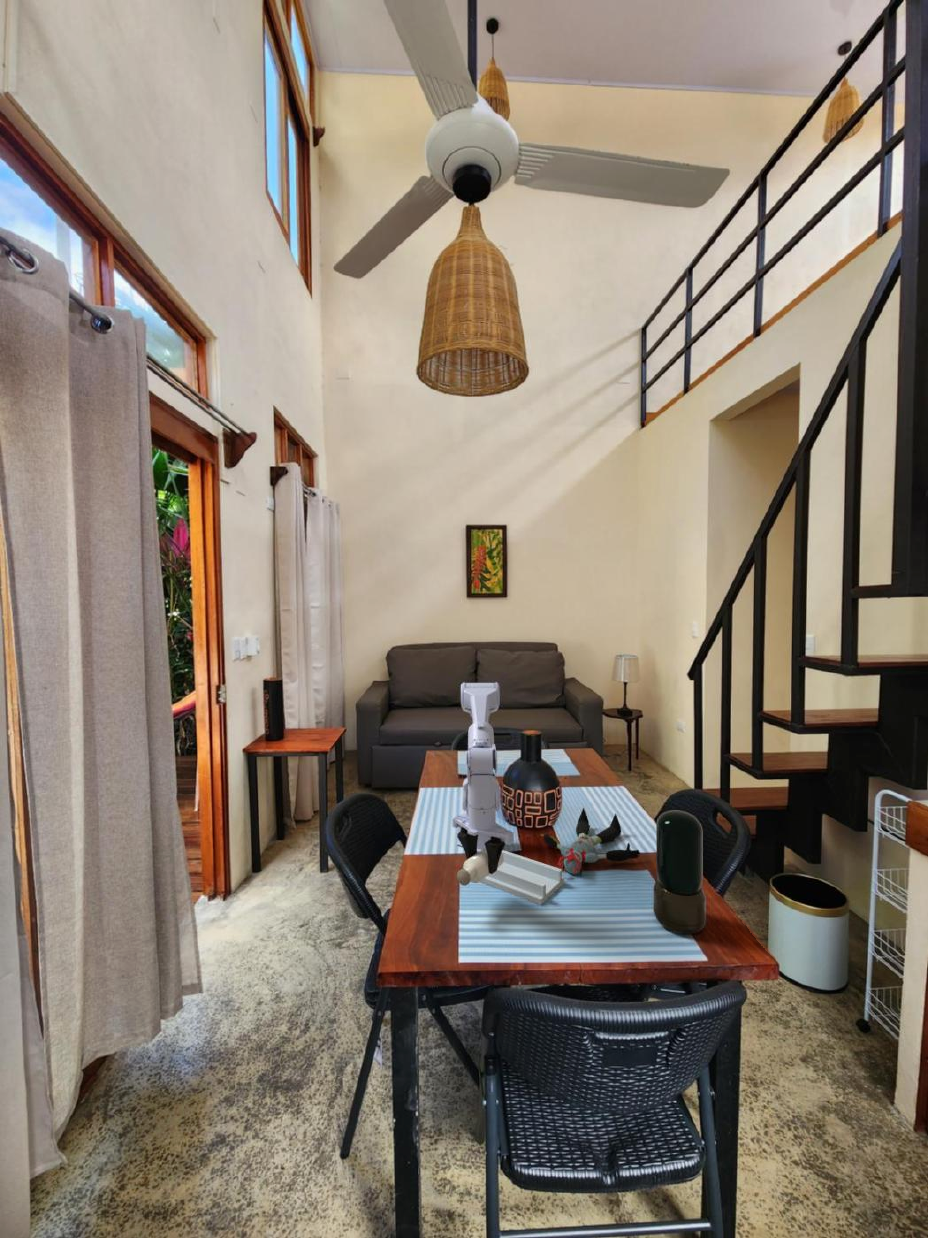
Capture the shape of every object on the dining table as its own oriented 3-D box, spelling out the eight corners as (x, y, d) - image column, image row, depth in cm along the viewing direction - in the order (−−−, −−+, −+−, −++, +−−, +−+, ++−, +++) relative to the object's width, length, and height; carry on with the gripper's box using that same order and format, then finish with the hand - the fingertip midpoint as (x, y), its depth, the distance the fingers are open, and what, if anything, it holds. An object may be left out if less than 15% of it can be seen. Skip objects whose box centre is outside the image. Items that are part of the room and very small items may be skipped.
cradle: (479, 881, 118) (478, 866, 118) (505, 862, 127) (505, 848, 127) (540, 905, 109) (540, 889, 109) (564, 882, 117) (564, 867, 117)
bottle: (485, 864, 114) (484, 842, 114) (503, 869, 111) (503, 847, 111) (453, 886, 105) (453, 863, 105) (472, 893, 102) (471, 869, 102)
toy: (648, 818, 138) (625, 861, 111) (648, 848, 137) (625, 898, 111) (556, 802, 150) (516, 837, 124) (556, 829, 150) (515, 870, 123)
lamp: (705, 943, 96) (705, 826, 95) (651, 930, 100) (651, 818, 100) (705, 915, 105) (705, 808, 104) (655, 904, 109) (655, 800, 108)
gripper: (443, 802, 110) (444, 865, 110) (500, 819, 101) (500, 887, 102) (463, 792, 116) (464, 852, 116) (518, 807, 107) (519, 872, 107)
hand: (482, 868), depth 109 cm, fingers closed on bottle, 5 cm apart
